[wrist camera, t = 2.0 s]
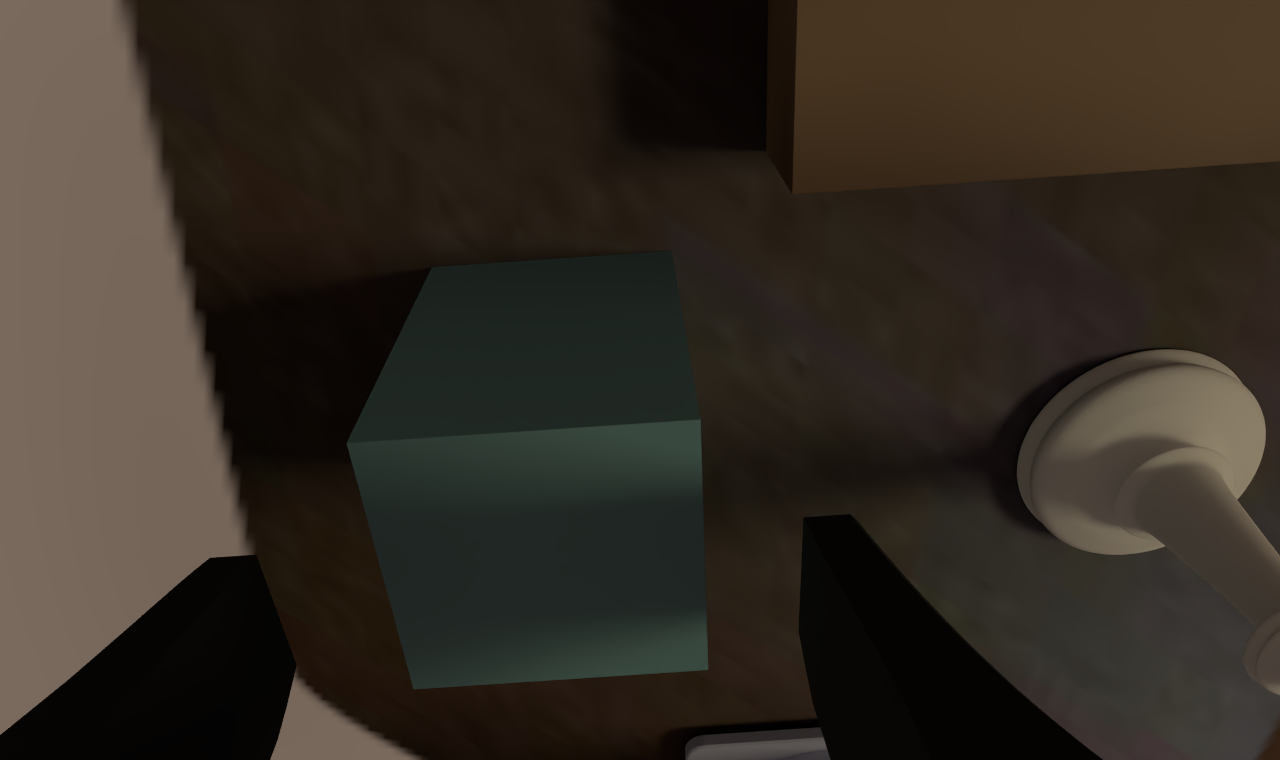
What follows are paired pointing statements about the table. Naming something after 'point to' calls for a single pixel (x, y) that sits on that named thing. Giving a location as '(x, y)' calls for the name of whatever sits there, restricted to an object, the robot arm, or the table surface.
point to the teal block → (539, 474)
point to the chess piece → (1161, 478)
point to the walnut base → (1016, 89)
